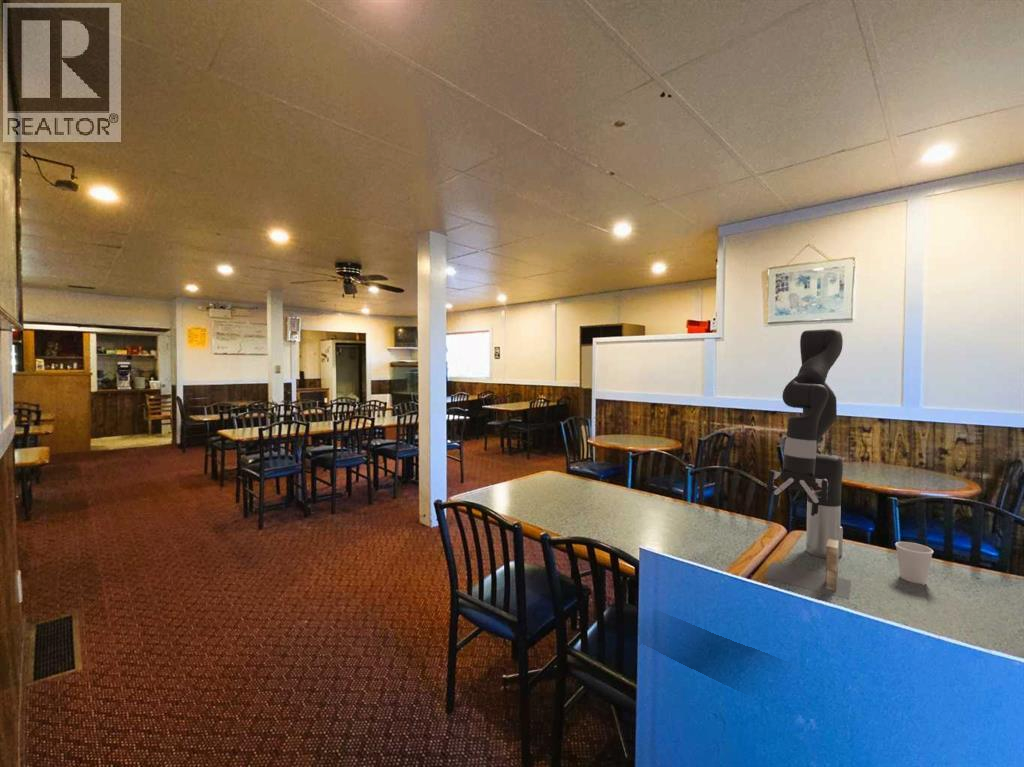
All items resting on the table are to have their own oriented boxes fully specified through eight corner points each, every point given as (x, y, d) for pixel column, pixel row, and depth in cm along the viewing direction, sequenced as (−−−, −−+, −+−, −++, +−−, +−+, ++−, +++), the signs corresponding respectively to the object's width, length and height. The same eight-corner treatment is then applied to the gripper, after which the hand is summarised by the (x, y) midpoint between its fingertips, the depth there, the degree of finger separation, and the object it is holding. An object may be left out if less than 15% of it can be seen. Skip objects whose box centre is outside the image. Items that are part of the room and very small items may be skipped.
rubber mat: (850, 582, 129) (850, 580, 129) (848, 601, 118) (848, 599, 118) (772, 563, 141) (772, 561, 141) (763, 578, 130) (763, 577, 130)
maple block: (837, 581, 128) (838, 540, 127) (836, 591, 122) (837, 548, 122) (827, 579, 129) (828, 538, 129) (825, 588, 124) (826, 545, 124)
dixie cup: (940, 588, 125) (941, 553, 125) (906, 585, 127) (907, 551, 126) (919, 575, 133) (920, 542, 133) (887, 572, 135) (888, 540, 134)
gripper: (831, 457, 123) (826, 514, 123) (772, 448, 131) (768, 502, 132) (830, 460, 117) (824, 521, 117) (768, 451, 126) (763, 507, 126)
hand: (794, 511), depth 125 cm, fingers open, 8 cm apart
